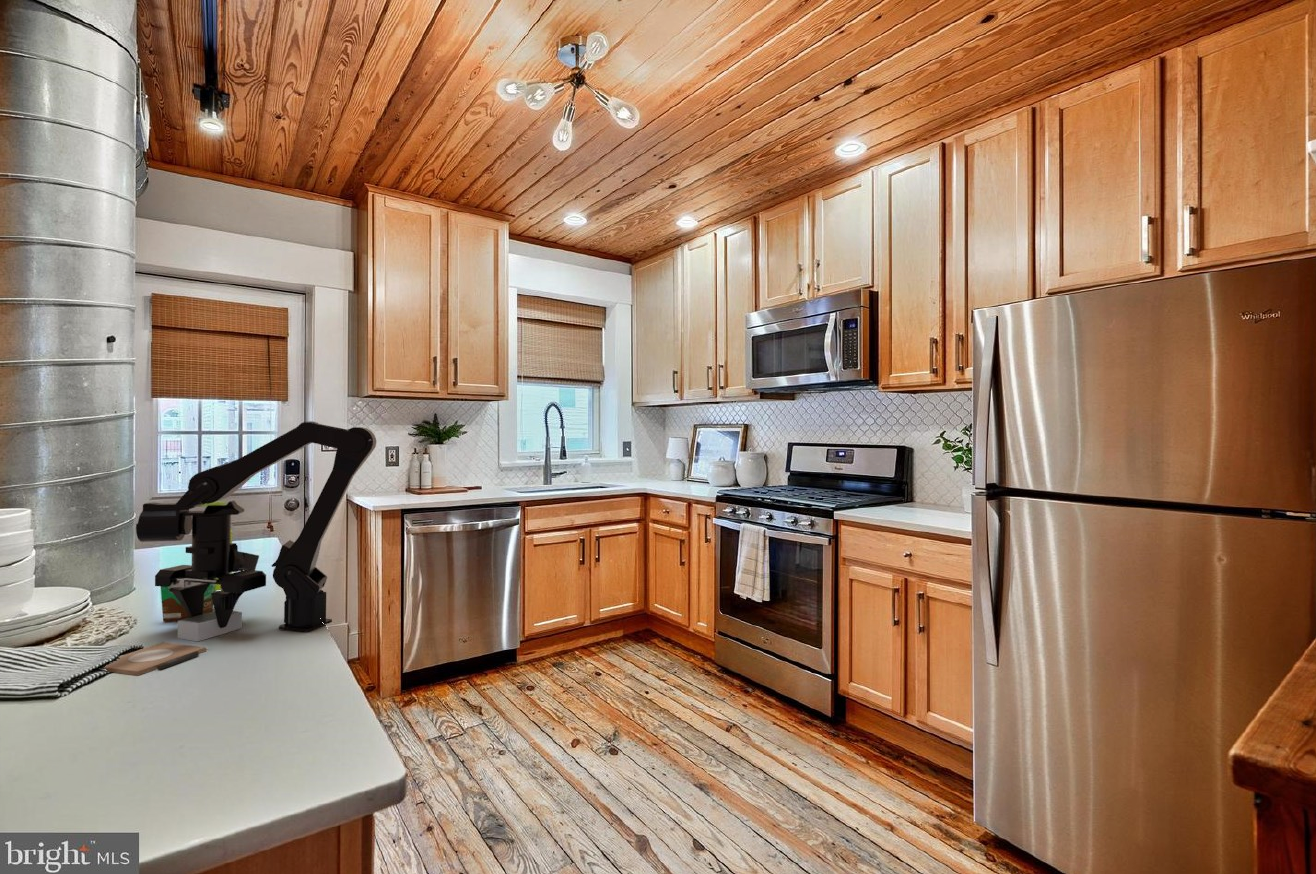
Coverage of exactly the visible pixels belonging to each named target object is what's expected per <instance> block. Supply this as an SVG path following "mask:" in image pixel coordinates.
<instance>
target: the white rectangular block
mask: <svg viewBox="0 0 1316 874" xmlns="http://www.w3.org/2000/svg"><path fill="white" fill-rule="evenodd" d="M242 615H243V611H237V610H233V612H232V614H231V617H230V619H229V621H228V624H227V626H226V627H224V628H220V627H219V624H218V622H217V618H216V613H215V610H213V612H210V613H206V614H202V615H198V616H195V617H191V618H187V619H183V620H180V621H178V622H177V639H182V640H187V641H193V642H200V641H203V640H204V641H205V640H206V639H207V640H208V639H211V638H214V637H217V636H220V635H224V634H226V633H230V632H233V631H238V630H241V629H242V627H243V616H242Z"/></svg>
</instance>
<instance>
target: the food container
mask: <svg viewBox="0 0 1316 874" xmlns="http://www.w3.org/2000/svg"><path fill="white" fill-rule="evenodd" d="M215 579H216V578H215ZM215 585H216V584H210V585H209V587H208V588H207V590H206V591H205V593H204V605H203V614H206V613H210V612H213V611H214V605H213V600H212V596H211V593H213V592H216V591H215ZM170 588H173V583H172V584H171V585H170V586H168V587H161V586H160V595H161V598H160V599H161V610H162V622H163V623H175V622H176V623H178V621H180V620H183V619H187V618H190V617H189V616H188V614H187V613H186V611H185V609H184V608H183V606H182V605H181V603H180V602H179V601H178V599H177V598H176V597H175V595H174V594H173V593H172V592H169V589H170Z"/></svg>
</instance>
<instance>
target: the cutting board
mask: <svg viewBox="0 0 1316 874" xmlns="http://www.w3.org/2000/svg"><path fill="white" fill-rule="evenodd" d="M204 652H207V647H205V646H198V645H189V644H188V645H187V644H182V643H181V644H180V643H172V642H171V643H170V642H160V643H156V644H153V645H150V646H148V647H144V648H141V649H138V650H136V651H132V652H130V653H129V652H128V653H125V654H122V655H120V656H121V657H119V656H118V657H119V658H120V659H118V660H117V661H116V662H113V663H111V664H109V665H106V666H105V667H104V668H105V669H106V670H107V671H108V673H116V674H124V675H129V676H131V675H132V676H141V675H143V674H146V673H149V672H152V671H155V670H158V671H161V670H164V669H166V668H168V667H172V666H174V665H177V664H179V663H180V664H181V663H183V662H185V661H188V660H191V659H193V658H196V657H198V656H199V655H200V654H201V653H204ZM107 671H106V672H107Z"/></svg>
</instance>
